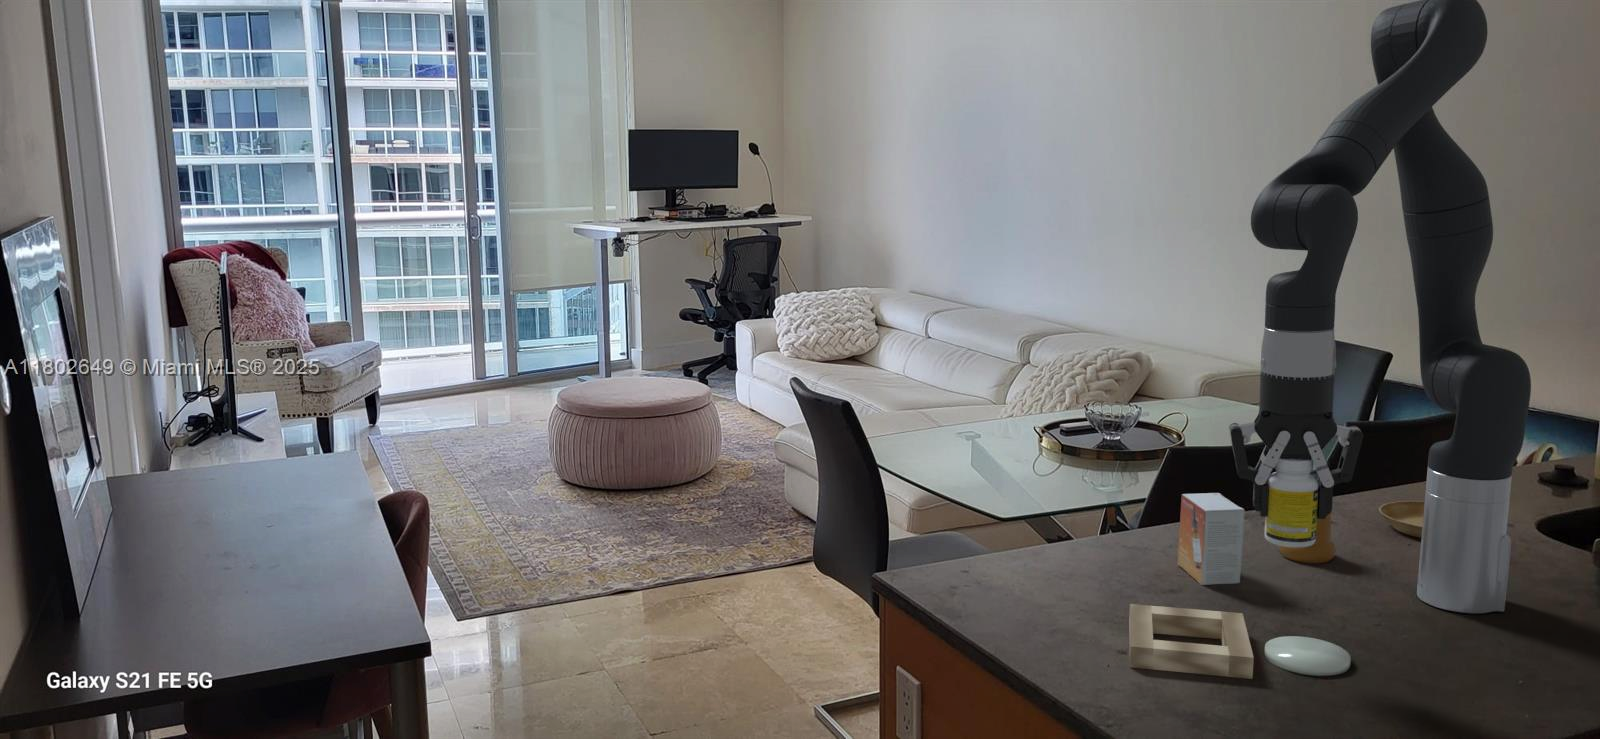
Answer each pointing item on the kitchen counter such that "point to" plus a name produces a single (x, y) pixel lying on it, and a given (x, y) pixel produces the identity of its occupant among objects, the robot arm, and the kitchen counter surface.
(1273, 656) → the pale green pebble
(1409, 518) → the plant saucer
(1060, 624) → the kitchen counter surface
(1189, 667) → the pocket block
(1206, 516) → the small box
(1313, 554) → the ornamental finial
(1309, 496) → the supplement bottle
